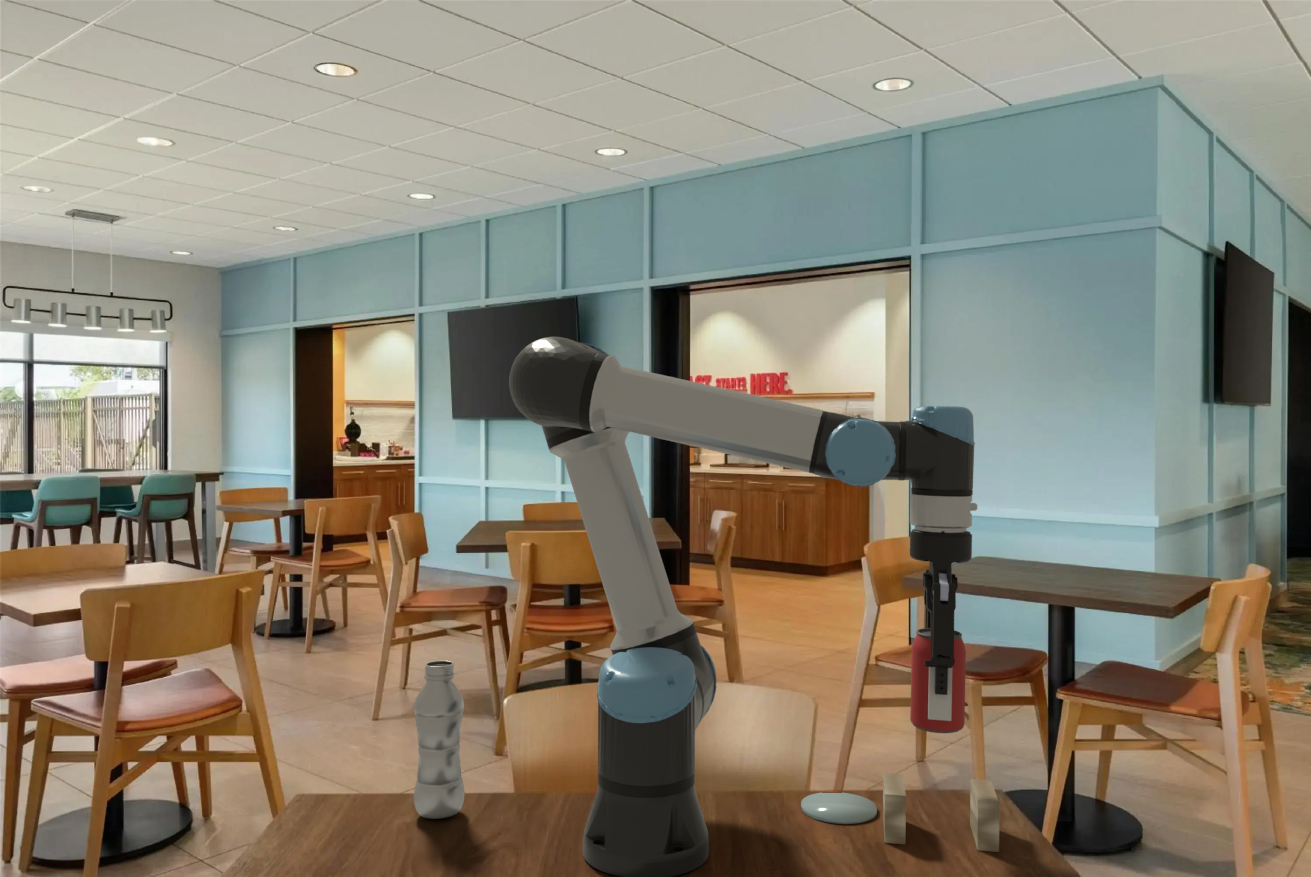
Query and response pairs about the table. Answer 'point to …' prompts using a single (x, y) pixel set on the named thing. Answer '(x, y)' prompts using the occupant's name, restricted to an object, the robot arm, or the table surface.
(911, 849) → the table surface
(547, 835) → the table surface
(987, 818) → the block
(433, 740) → the plastic bottle
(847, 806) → the coaster
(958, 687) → the beer can
